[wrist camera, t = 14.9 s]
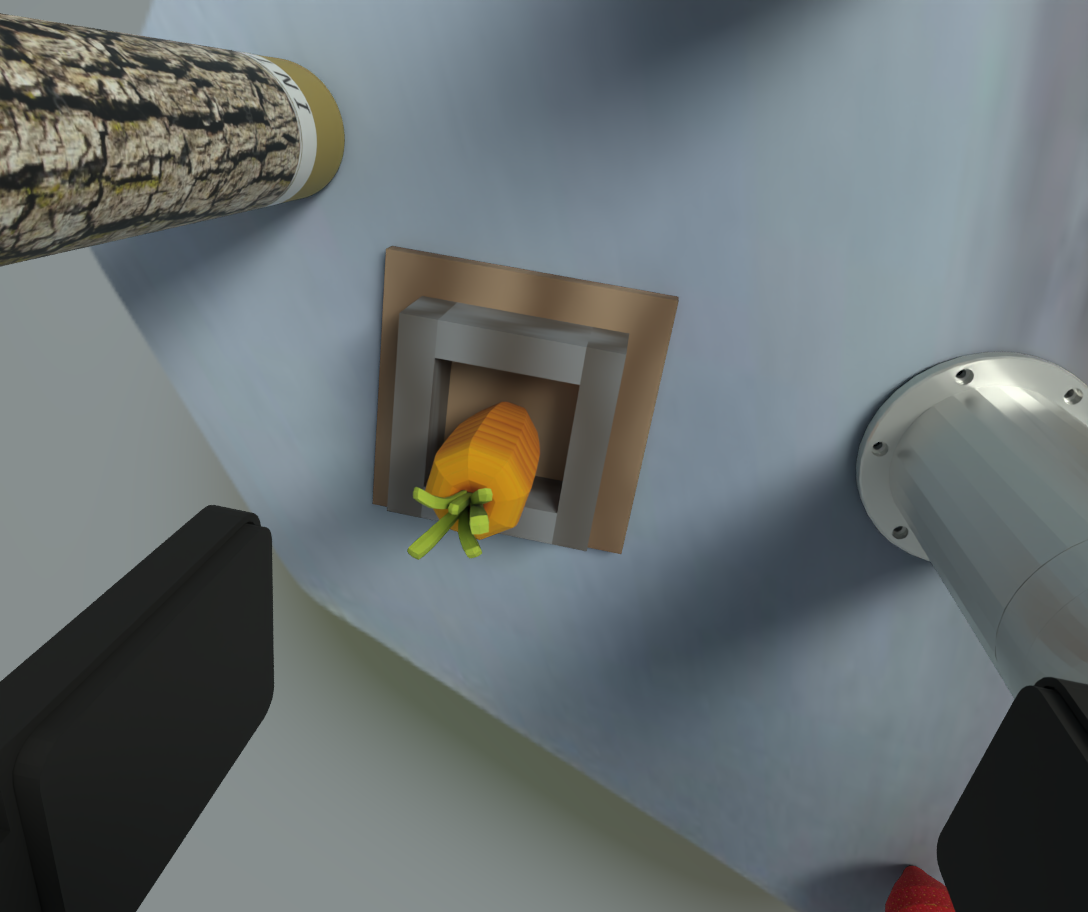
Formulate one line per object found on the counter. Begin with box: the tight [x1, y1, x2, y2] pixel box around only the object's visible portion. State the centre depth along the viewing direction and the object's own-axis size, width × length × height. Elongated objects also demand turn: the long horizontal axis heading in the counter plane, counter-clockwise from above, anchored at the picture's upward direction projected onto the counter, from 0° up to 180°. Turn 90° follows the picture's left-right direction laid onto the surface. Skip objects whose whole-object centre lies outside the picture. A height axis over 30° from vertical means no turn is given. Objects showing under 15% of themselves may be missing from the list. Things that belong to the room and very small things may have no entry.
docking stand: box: [373, 246, 679, 554], centre depth 42 cm, size 16×16×5 cm
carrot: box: [407, 402, 540, 560], centre depth 36 cm, size 5×5×15 cm
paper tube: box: [0, 13, 345, 266], centre depth 28 cm, size 7×7×25 cm
